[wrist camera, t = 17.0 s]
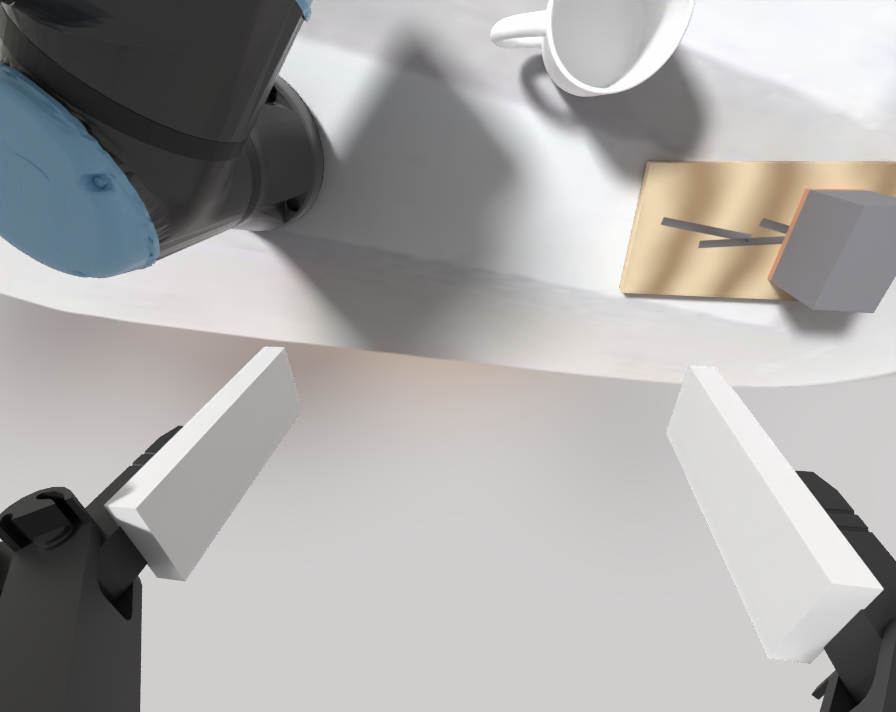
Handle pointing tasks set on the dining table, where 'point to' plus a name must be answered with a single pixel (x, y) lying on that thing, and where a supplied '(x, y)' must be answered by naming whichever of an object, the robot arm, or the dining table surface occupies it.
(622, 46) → the cup
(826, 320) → the dining table surface
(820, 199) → the block
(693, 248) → the board
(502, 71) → the dining table surface
